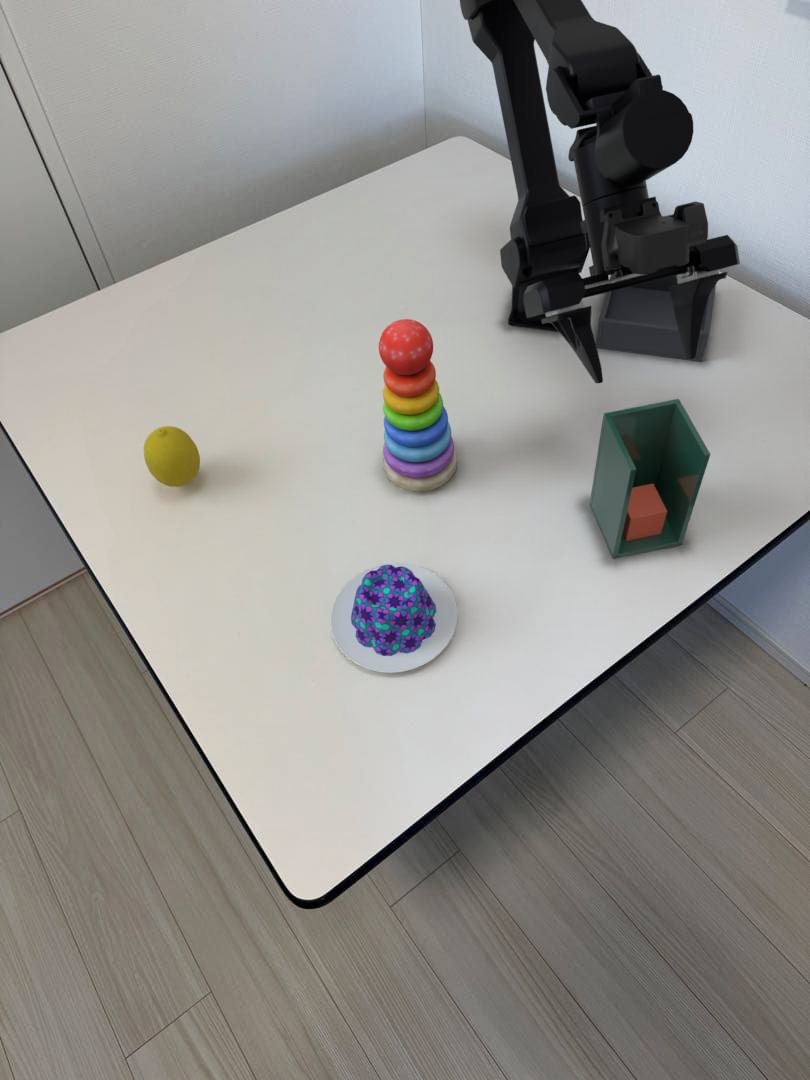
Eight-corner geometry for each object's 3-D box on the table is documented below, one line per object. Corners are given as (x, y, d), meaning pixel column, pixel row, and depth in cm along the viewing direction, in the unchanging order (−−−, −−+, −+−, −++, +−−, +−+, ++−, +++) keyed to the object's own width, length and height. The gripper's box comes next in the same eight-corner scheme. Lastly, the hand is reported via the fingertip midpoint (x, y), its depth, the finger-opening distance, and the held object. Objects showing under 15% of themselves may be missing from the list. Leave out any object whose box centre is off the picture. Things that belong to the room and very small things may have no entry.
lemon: (167, 508, 88) (142, 458, 81) (152, 475, 91) (127, 424, 84) (215, 488, 89) (194, 437, 83) (199, 456, 92) (177, 404, 86)
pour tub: (589, 504, 83) (603, 413, 73) (655, 491, 84) (678, 398, 73) (612, 559, 79) (631, 470, 69) (681, 544, 79) (710, 454, 69)
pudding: (315, 664, 75) (305, 636, 71) (350, 559, 82) (342, 527, 78) (444, 686, 73) (441, 658, 68) (468, 576, 79) (467, 544, 75)
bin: (595, 347, 97) (598, 320, 94) (611, 285, 104) (615, 258, 101) (701, 361, 94) (708, 334, 91) (710, 296, 101) (718, 269, 98)
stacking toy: (466, 447, 89) (462, 306, 74) (445, 502, 85) (435, 364, 70) (399, 434, 92) (381, 294, 77) (374, 487, 87) (350, 349, 72)
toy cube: (613, 513, 82) (617, 490, 79) (647, 506, 82) (653, 483, 79) (625, 541, 80) (630, 518, 77) (661, 534, 80) (667, 511, 77)
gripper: (544, 201, 64) (582, 396, 68) (761, 149, 66) (788, 342, 69) (506, 228, 75) (541, 395, 78) (694, 183, 77) (720, 348, 80)
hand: (645, 371), depth 76 cm, fingers open, 9 cm apart
